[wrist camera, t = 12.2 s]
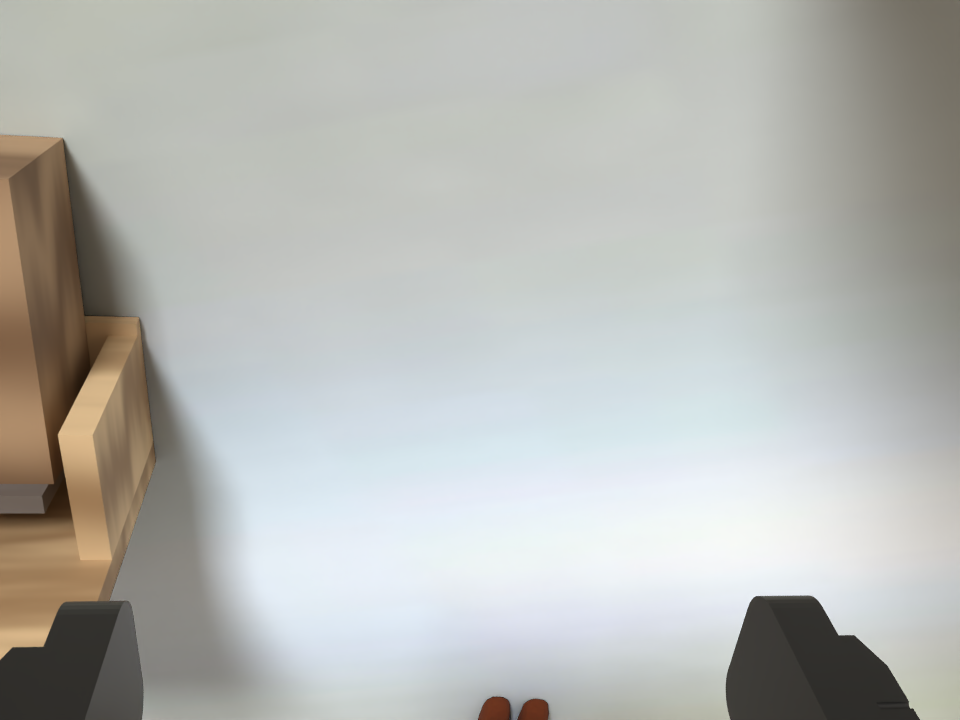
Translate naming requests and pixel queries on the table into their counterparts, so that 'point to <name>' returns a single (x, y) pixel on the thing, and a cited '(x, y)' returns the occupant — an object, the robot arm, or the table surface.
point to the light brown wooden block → (36, 320)
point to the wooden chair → (83, 493)
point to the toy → (498, 710)
